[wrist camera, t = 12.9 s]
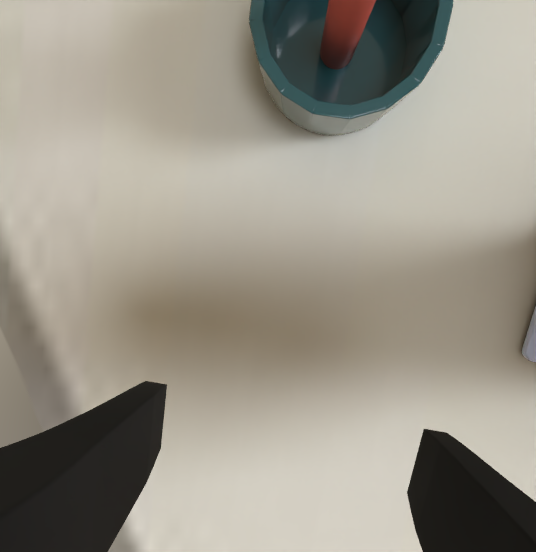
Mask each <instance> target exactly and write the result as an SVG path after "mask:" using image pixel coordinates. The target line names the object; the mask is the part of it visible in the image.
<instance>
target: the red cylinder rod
mask: <svg viewBox="0 0 536 552" xmlns="http://www.w3.org/2000/svg"><path fill="white" fill-rule="evenodd" d="M375 2H376V0H329V2H328V8H327V13H326V19H325V25H324V31H323V37H322V43H321V48H320V56H321V59H322V61H323V63H324V64H325V65H326V66H327V67H329V68H331V69H341V68H343V67H345V66H346V65H347V64H348V63H349V62H350V61H351V59H352V57H353V54H354V52H355V50H356V47H357V45H358V42H359V40H360V38H361V35H362V33H363V30H364V28H365V26H366V23H367V21H368V18H369V16H370V14H371V11H372V9H373V6H374V4H375Z"/></svg>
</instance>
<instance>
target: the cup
mask: <svg viewBox="0 0 536 552" xmlns="http://www.w3.org/2000/svg"><path fill="white" fill-rule="evenodd" d="M328 2H329V0H251V8H250V16H249V21H250V22H249V24H250V28H251V33H252V37H253V41H254V45H255V50H256V54H257V58H258V62H259V66H260V69H261V73H262V76H263V80H264V83H265V87H266V89H267V92H268V93H269V94H270V96H271V98H272V100H273V101H274V103H275V105H276V106H277V107H278V109H279V110H280V111H281V112H282V113H283V114H284V115H285V116H286V117H287V118H288V119H289V120H290V121H292V122H293V123H295V124H296V125H298V126H300V127H301V128H303V129H305V130H308V131H311V132H313V133H318V134H323V135H343V134H348V133H352V132H355V131H358V130H361V129H363V128H367V127H368V126H370V125H371V124H373V123H374V122H375V121H377V120H378V119H380V118H381V117H382V116H383V115H385V114H386V113H387V112H389V111H390V110H391V109H393V108H394V107H395V106H396V105H397V104H398V103H399V102H400V101H402V100H403V99H404V98H405V97H406V96H407V95H408V94H410V93H411V92H412V91H413V90H414V89H415V88H416V87H418V86H419V84H420V83H421V82H422V81H423V79H424V78H425V76H426V74H427V73H428V71H429V70H430V68H431V67H432V65H433V63H434V62H435V60H436V59H437V57H438V56H439V54H440V52H441V51H442V49H443V46H444V44H445V39H446V35H447V30H448V26H449V21H450V17H451V12H452V8H453V0H376V2H375V4H374V6H373V9H372V11H371V14H370V16H369V18H368V21H367V23H366V26H365V28H364V30H363V33H362V35H361V38H360V40H359V42H358V45H357V47H356V50H355V52H354V54H353V57H352V59H351V61H350V62H349V63H348V64H347V65H346V66H345V67H343V68H341V69H331V68H329V67H327V66H326V65H325V64H324V63H323V61H322V59H321V56H320V48H321V43H322V37H323V31H324V25H325V19H326V13H327V8H328Z"/></svg>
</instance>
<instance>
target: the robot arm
mask: <svg viewBox="0 0 536 552" xmlns="http://www.w3.org/2000/svg"><path fill="white" fill-rule="evenodd" d="M522 354H523V356H524V357H525V358H526V359H528V360H529V361H532V362H536V306H535V310H534V313H533V316H532V319H531V322H530V326H529V329H528V332H527V335H526V339H525V342H524V345H523V348H522ZM166 389H167V385H166V384H160V383H154V382H148V381H145V382H143V383H141V384H139V385H137V386H135V387H133V388H131V389H129V390H127V391H125V392H124V393H122V394H120V395H118V396H116V397H114V398H112V399H111V400H109V401H107V402H105V403H103V404H101V405H99V406H97V407H95V408H93V409H92V410H90V411H88V412H85V413H83V414H81V415H79V416H77V417H75V418H73V419H71V420H68V421H66V422H64V423H62V424H60V425H58V426H56V427H54V428H51V429H49V430H47V431H44V432H42V433H39V434H37V435H34V436H32V437H29V438H27V439H24V440H21V441H19V442H16V443H13V444H11V445H8V446H5V447H2V448H0V552H108V550H109V548H110V547H111V545H112V543H113V541H114V539H115V538H116V536H117V534H118V532H119V531H120V529H121V527H122V525H123V524H124V522H125V520H126V518H127V517H128V515H129V513H130V511H131V509H132V508H133V506H134V504H135V502H136V501H137V499H138V497H139V495H140V493H141V492H142V490H143V488H144V486H145V484H146V482H147V480H148V478H149V475H150V473H151V471H152V468H153V466H154V464H155V461H156V459H157V456H158V454H159V451H160V449H161V439H162V429H163V419H164V409H165V399H166ZM407 494H408V499H409V503H410V508H411V513H412V517H413V521H414V525H415V529H416V533H417V536H418V539H419V542H420V544H421V547H422V550H423V552H536V502H535V501H534V500H532V499H531V498H530V497H529V496H527V495H526V494H525V493H523V492H522V491H521V490H519V489H518V488H517V487H516V486H514V485H513V484H512V483H511V482H509V481H508V480H507V479H506V478H504V477H503V476H502V475H501V474H499V473H498V472H497V471H496V470H494V469H493V468H492V467H491V466H489V465H488V464H487V463H486V462H484V461H483V460H482V459H481V458H479V457H478V456H477V455H476V454H474V453H473V452H472V451H471V450H469V449H468V448H467V447H466V446H464V445H463V444H462V443H460V442H459V441H458V440H456V439H455V438H454V437H452V436H451V435H449V434H448V433H445V432H439V431H433V430H428V429H424V431H423V435H422V438H421V442H420V446H419V450H418V453H417V457H416V461H415V465H414V469H413V472H412V476H411V480H410V484H409V487H408V491H407Z"/></svg>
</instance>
